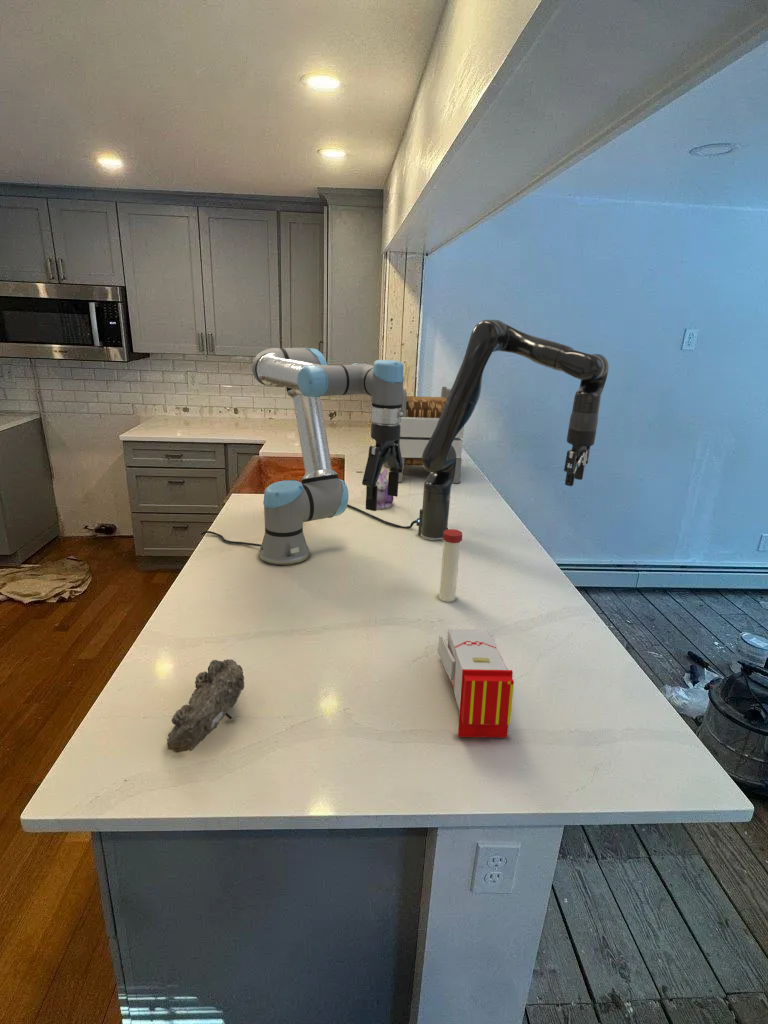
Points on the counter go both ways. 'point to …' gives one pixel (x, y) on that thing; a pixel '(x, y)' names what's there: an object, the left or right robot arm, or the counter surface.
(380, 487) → the figurine
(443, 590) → the jar
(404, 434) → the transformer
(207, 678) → the fossil
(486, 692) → the toy
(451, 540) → the lid
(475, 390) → the right robot arm
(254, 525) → the counter surface
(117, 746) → the counter surface
